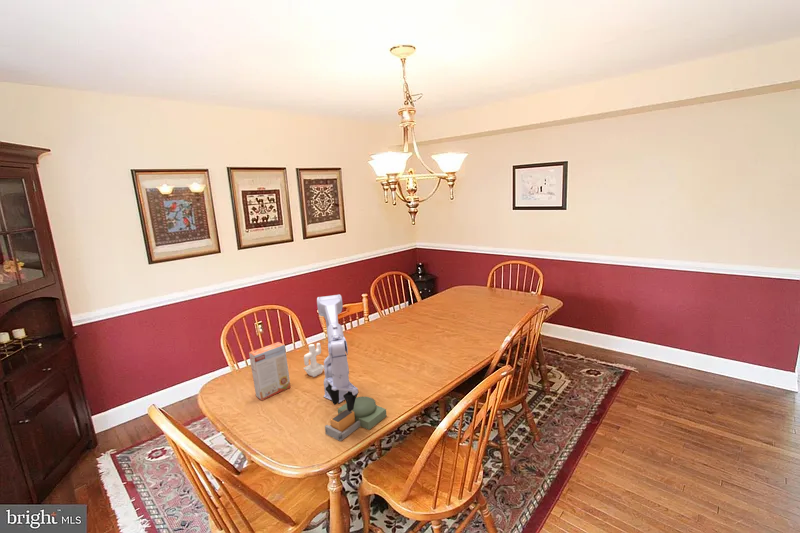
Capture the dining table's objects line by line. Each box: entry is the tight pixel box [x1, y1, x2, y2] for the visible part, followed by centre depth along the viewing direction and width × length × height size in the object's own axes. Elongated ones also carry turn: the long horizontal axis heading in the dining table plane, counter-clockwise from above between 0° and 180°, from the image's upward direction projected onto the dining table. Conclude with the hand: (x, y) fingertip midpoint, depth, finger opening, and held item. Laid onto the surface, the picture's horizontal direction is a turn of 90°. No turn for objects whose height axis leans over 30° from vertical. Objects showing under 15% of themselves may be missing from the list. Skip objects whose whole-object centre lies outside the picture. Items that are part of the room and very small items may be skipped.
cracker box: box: [248, 341, 291, 401], centre depth 166 cm, size 14×6×21 cm, turn 135°
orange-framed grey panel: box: [330, 409, 355, 432], centre depth 139 cm, size 4×8×5 cm, turn 142°
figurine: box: [303, 342, 324, 378], centre depth 181 cm, size 7×9×15 cm
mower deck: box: [324, 396, 387, 442], centre depth 143 cm, size 16×21×5 cm
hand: (343, 406), depth 139 cm, fingers open, 7 cm apart
